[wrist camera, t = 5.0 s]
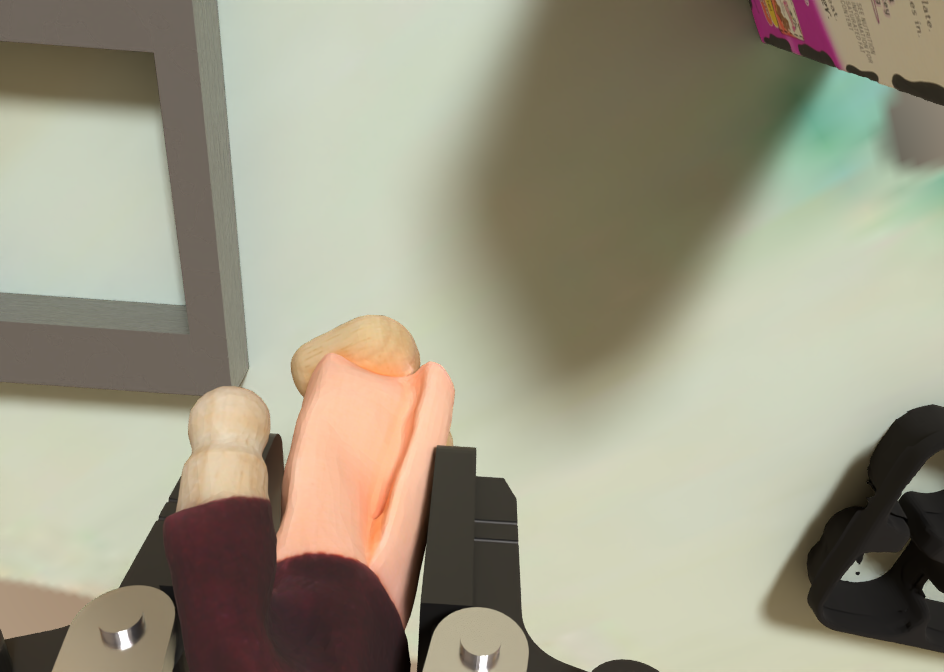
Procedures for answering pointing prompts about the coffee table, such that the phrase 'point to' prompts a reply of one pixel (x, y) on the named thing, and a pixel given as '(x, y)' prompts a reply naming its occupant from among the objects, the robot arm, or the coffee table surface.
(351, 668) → the grandmother figurine
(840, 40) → the candy bar box
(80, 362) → the holder board
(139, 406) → the coffee table surface
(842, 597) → the egg carton
